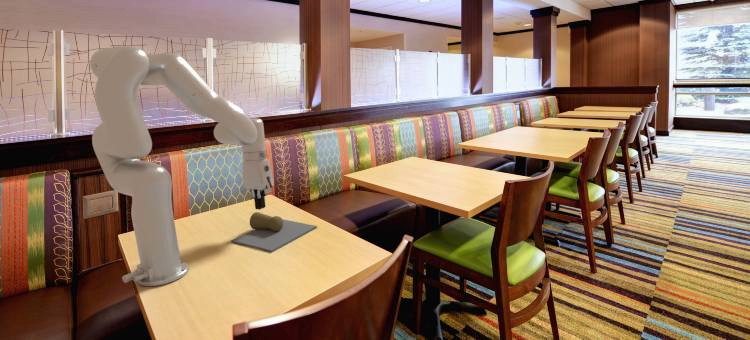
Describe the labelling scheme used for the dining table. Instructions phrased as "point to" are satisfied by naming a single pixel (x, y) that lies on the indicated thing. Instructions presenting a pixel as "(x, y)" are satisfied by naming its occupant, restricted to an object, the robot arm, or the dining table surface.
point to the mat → (274, 236)
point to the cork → (266, 222)
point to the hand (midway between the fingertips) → (260, 208)
